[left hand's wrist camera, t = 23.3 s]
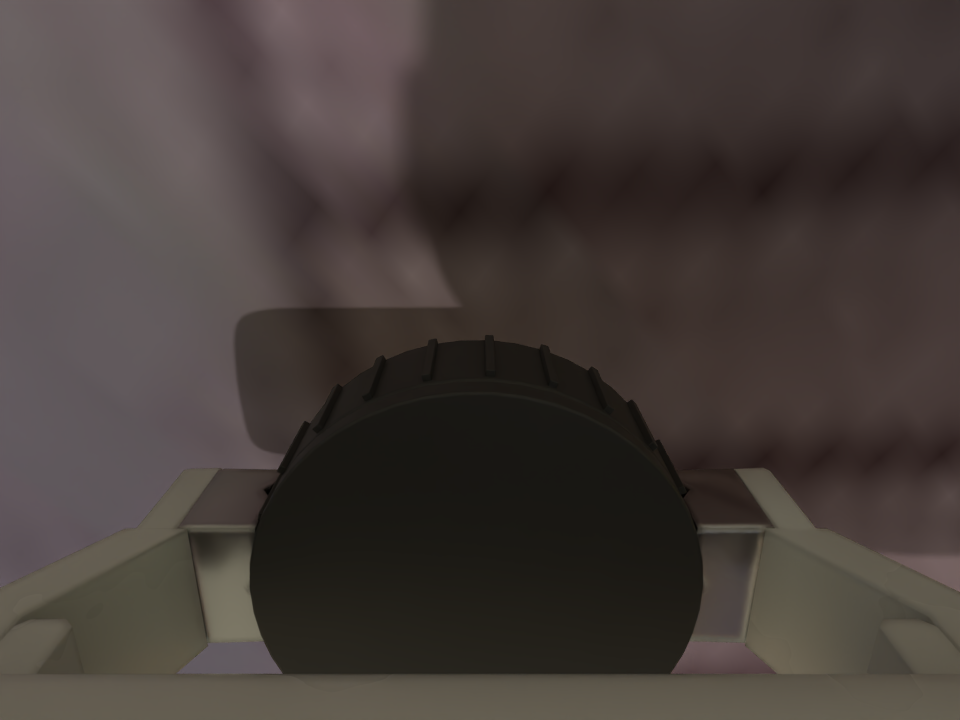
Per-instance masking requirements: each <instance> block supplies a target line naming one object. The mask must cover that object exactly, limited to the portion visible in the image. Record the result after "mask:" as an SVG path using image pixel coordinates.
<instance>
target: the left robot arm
mask: <svg viewBox="0 0 960 720" xmlns="http://www.w3.org/2000/svg"><path fill="white" fill-rule="evenodd" d="M676 472H677V474H678V476H679V477H680V479H681V481H682V483H683V485H684V487H685V489H686V491H687V493H685V494H682V495H681V496H682V498H683V500H684V502H685V504H686V506H687V508H688V510H689V512H690V514H691V517H692V520H693V523H694V525H695V528H696V531H697V534H698V537H699V542H700V548H701V553H702V558H703V591H702V599H701V606H700V611H699V615H698V618H697V621H696V625H695V628H694V631H693V634H692V636H691V638H690V640H689V641H697V642H733V643H745V646H746V647H747V648H748V649H750V650H751V651H752V652H753V653H754V654H755V655H756V656H758V657H759V658H760V659H761V660H762V661H763V662H765V663H766V664H767V665H768V666H769V667H770V668H771V669H773V670H774V671H775V672H776V673H777V674H176V673H177V672H178V671H179V670H180V669H182V668H183V667H184V666H185V665H186V664H187V663H189V662H190V661H191V660H192V659H193V658H194V657H196V656H197V655H198V654H199V653H200V652H201V651H203V650H204V649H205V648H206V647H207V646H208V644H207V643H219V642H255V641H263V639H262V637H261V634H260V631H259V628H258V625H257V622H256V619H255V615H254V612H253V606H252V599H251V593H250V558H251V552H252V546H253V540H254V536H255V533H256V530H257V527H258V524H259V521H260V520H259V519H257V518H258V514H259V512H260V510H261V508H262V506H263V504H264V502H265V500H266V499H267V497H268V495H269V493H270V491H271V489H272V487H273V486H274V484H275V482H276V480H277V478H278V476H279V474H280V473H278V472H277V470H269V469H221V468H199V469H187V470H184V471H183V472H182V473H181V475H180V476H179V477H178V478H177V479H176V481H175V482H174V483H173V484H172V486H171V487H170V488H169V489H168V490H167V492H166V493H165V494H164V495H163V497H162V498H161V499H160V500H159V501H158V503H157V504H156V505H155V506H154V508H153V509H152V510H151V511H150V512H149V514H148V515H147V516H146V517H145V519H144V520H143V521H142V522H141V523H140V525H139V526H138V527H137V528H131V529H123V530H121V531H119V532H117V533H115V534H113V535H111V536H109V537H107V538H104V539H102V540H100V541H98V542H96V543H94V544H92V545H90V546H88V547H85V548H83V549H81V550H79V551H77V552H75V553H73V554H71V555H69V556H66V557H64V558H62V559H60V560H58V561H56V562H54V563H52V564H50V565H47V566H45V567H43V568H41V569H39V570H37V571H35V572H33V573H31V574H28V575H26V576H24V577H22V578H20V579H18V580H16V581H14V582H12V583H9V584H7V585H5V586H3V587H1V588H0V720H960V592H958V591H956V590H954V589H952V588H950V587H948V586H946V585H944V584H942V583H939V582H937V581H935V580H933V579H931V578H929V577H927V576H925V575H923V574H921V573H919V572H917V571H914V570H912V569H910V568H908V567H906V566H904V565H902V564H900V563H898V562H896V561H894V560H892V559H889V558H887V557H885V556H883V555H881V554H879V553H877V552H875V551H873V550H871V549H869V548H867V547H864V546H862V545H860V544H858V543H856V542H854V541H852V540H850V539H848V538H846V537H844V536H842V535H839V534H837V533H835V532H833V531H831V530H829V529H822V528H815V526H814V525H813V524H812V523H811V522H810V520H809V519H808V518H807V517H806V515H805V514H804V513H803V512H802V510H801V509H800V508H799V507H798V505H797V504H796V503H795V502H794V500H793V499H792V498H791V497H790V495H789V494H788V493H787V492H786V490H785V489H784V488H783V487H782V485H781V484H780V483H779V482H778V480H777V479H776V478H775V477H774V475H773V474H772V473H771V472H770V471H769V470H767V469H765V468H747V469H701V470H676Z"/></svg>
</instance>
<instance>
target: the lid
mask: <svg viewBox="0 0 960 720" xmlns="http://www.w3.org/2000/svg"><path fill="white" fill-rule="evenodd" d="M277 472H278V473H280V474H279V476H278V478H277V480H276V482H275V484H274V486H273V487H272V489H271V491H270V493H269V495H268V497H267V499H266V500H265V502H264V504H263V506H262V508H261V510H260V512H259V514H258V518H257V519H259V520H260V521H259V524H258V527H257V530H256V533H255V536H254V540H253V546H252V552H251V558H250V593H251V599H252V606H253V612H254V615H255V619H256V622H257V625H258V628H259V631H260V634H261V637H262V639H263V641H264V643H265V645H266V647H267V649H268V651H269V653H270V655H271V657H272V658H273V660H274V661H275V663H276V664H277V666H278V667H279V669H280V670H281V671H282V673H283V674H670V673H671V672H672V670H673V669H674V667H675V666H676V664H677V663H678V661H679V660H680V658H681V657H682V655H683V653H684V651H685V649H686V647H687V645H688V642H689V640H690V638H691V636H692V634H693V631H694V628H695V625H696V621H697V618H698V615H699V611H700V606H701V599H702V591H703V558H702V553H701V548H700V542H699V537H698V534H697V531H696V528H695V525H694V523H693V520H692V517H691V514H690V512H689V510H688V508H687V506H686V504H685V502H684V500H683V498H682V496H681V495H682V494H685V493H687V491H686V489H685V487H684V485H683V483H682V481H681V479H680V477H679V476H678V474H677V472H676V470H675V468H674V466H673V464H672V462H671V461H670V459H669V457H668V455H667V453H666V451H665V449H664V447H663V445H662V444H661V442H660V440H657V441H655V440H654V438H653V436H652V434H651V432H650V430H649V428H648V426H647V424H646V422H645V420H644V418H643V416H642V414H641V413H640V411H639V409H638V407H637V405H636V403H635V402H634V401H633V400H630V401H629V402H626V401H625V400H624V399H623V398H622V397H621V396H620V395H619V394H618V393H617V392H616V391H615V390H614V389H612V388H611V387H610V386H609V385H607V384H606V383H605V382H603V381H602V379H601V377H600V375H599V373H598V370H596V369H595V368H593V367H591V368H590V369H589V370H588V371H587V370H586V369H584V368H582V367H580V366H578V365H576V364H575V363H573V362H571V361H569V360H567V359H564V358H562V357H559V356H557V355H554V354H551V353H550V350H549V347H548V346H545V345H541V346H540V349H536V348H532V347H528V346H524V345H520V344H515V343H506V342H498V341H494V337H493V335H485V340H482V341H455V342H447V343H440V344H438V342H437V339H431V340H429V342H428V346H425V347H421V348H418V349H414V350H410V351H407V352H404V353H402V354H399V355H397V356H394V357H392V358H389V359H387V360H386V359H385V357H384V356H383V355H382V356H380V357H378V358H377V359H376V361H375V363H374V366H373V367H372V368H370V369H368V370H366V371H364V372H363V373H361V374H359V375H358V376H357V377H355V378H354V379H353V380H351V381H350V382H349V383H348V384H346V385H345V386H344V387H341V386H340V385H339V384H337V385H336V386H335V387H334V388H333V389H332V391H331V393H330V395H329V397H328V399H327V401H326V403H325V405H324V406H323V407H322V408H321V410H320V411H319V412H318V414H317V415H316V416H315V418H314V419H313V420H312V422H311V423H308V422H306V421H304V423H303V424H302V426H301V428H300V430H299V431H298V433H297V435H296V437H295V439H294V441H293V442H292V444H291V446H290V448H289V450H288V452H287V453H286V455H285V457H284V459H283V461H282V463H281V464H280V466H279V468H278V470H277Z"/></svg>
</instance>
